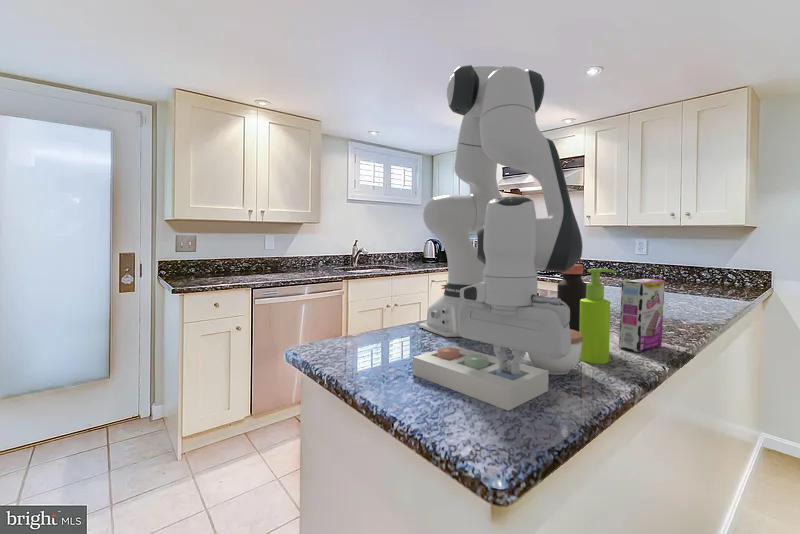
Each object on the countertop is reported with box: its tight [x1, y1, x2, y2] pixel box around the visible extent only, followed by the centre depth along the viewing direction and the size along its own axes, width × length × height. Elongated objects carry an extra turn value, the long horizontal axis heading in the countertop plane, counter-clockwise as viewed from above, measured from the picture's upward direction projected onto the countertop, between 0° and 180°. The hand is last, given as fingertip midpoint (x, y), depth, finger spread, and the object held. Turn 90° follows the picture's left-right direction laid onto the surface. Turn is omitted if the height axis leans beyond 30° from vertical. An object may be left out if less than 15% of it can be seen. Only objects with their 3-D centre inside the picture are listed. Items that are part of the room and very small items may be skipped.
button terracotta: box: [436, 346, 460, 361], centre depth 78 cm, size 4×4×3 cm
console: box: [412, 345, 549, 412], centre depth 72 cm, size 22×12×4 cm, turn 40°
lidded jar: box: [527, 329, 583, 376], centre depth 79 cm, size 11×11×9 cm
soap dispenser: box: [579, 267, 618, 365], centre depth 84 cm, size 6×7×20 cm
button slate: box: [496, 369, 522, 380], centre depth 67 cm, size 4×4×3 cm
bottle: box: [556, 263, 587, 332], centre depth 98 cm, size 7×7×20 cm
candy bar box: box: [618, 278, 666, 353], centre depth 94 cm, size 11×5×16 cm, turn 123°
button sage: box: [464, 355, 489, 370], centre depth 72 cm, size 4×4×3 cm
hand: (509, 372), depth 67 cm, fingers closed, pressing on button slate
